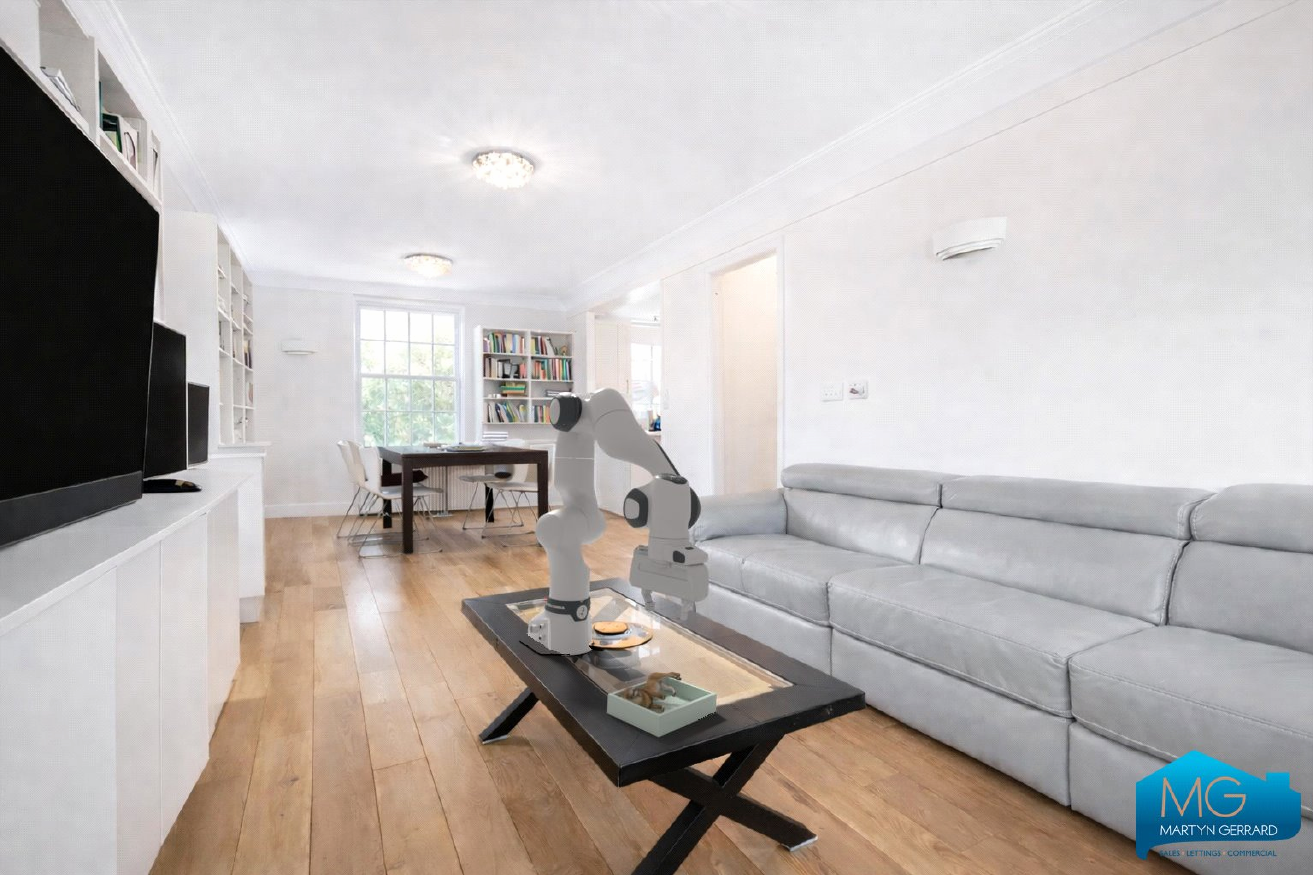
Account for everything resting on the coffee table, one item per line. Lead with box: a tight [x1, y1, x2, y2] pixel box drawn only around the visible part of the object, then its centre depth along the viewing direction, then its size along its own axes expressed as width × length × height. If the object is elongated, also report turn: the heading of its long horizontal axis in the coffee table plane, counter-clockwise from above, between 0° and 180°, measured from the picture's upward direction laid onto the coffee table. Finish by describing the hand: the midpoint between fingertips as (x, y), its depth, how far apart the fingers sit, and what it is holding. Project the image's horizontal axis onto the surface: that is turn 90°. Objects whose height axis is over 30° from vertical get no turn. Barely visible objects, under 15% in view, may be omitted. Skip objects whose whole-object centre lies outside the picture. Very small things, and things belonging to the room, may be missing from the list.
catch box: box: [606, 677, 718, 738], centre depth 135 cm, size 15×18×4 cm
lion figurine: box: [621, 671, 682, 713], centre depth 137 cm, size 15×5×9 cm
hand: (665, 614), depth 135 cm, fingers open, 8 cm apart
